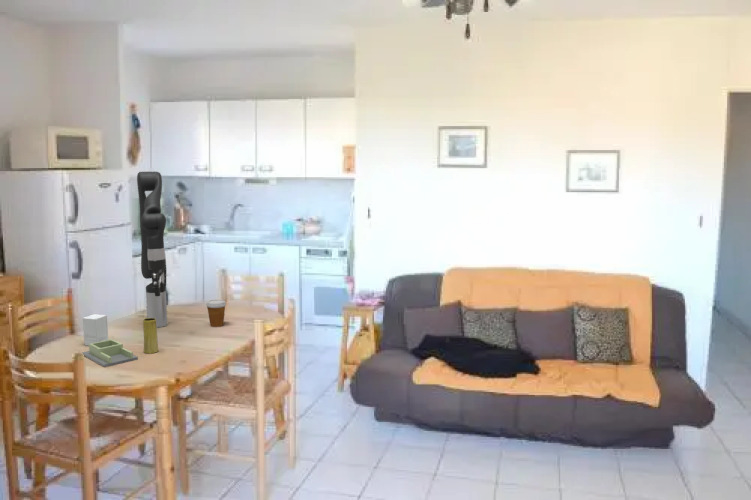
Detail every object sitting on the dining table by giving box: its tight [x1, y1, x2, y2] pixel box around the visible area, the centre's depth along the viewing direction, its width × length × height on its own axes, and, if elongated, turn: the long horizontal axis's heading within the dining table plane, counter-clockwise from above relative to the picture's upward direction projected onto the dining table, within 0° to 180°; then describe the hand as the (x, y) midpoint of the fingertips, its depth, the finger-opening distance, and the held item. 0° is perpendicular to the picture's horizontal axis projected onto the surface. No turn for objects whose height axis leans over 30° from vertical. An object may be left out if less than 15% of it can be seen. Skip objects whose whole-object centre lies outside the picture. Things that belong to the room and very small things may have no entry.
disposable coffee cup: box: [206, 299, 227, 328], centre depth 325 cm, size 10×10×12 cm
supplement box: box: [82, 313, 109, 347], centre depth 294 cm, size 7×7×13 cm
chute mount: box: [81, 338, 139, 368], centre depth 276 cm, size 22×14×5 cm, turn 46°
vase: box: [142, 317, 159, 354], centre depth 284 cm, size 6×6×14 cm
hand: (159, 294), depth 295 cm, fingers open, 8 cm apart
